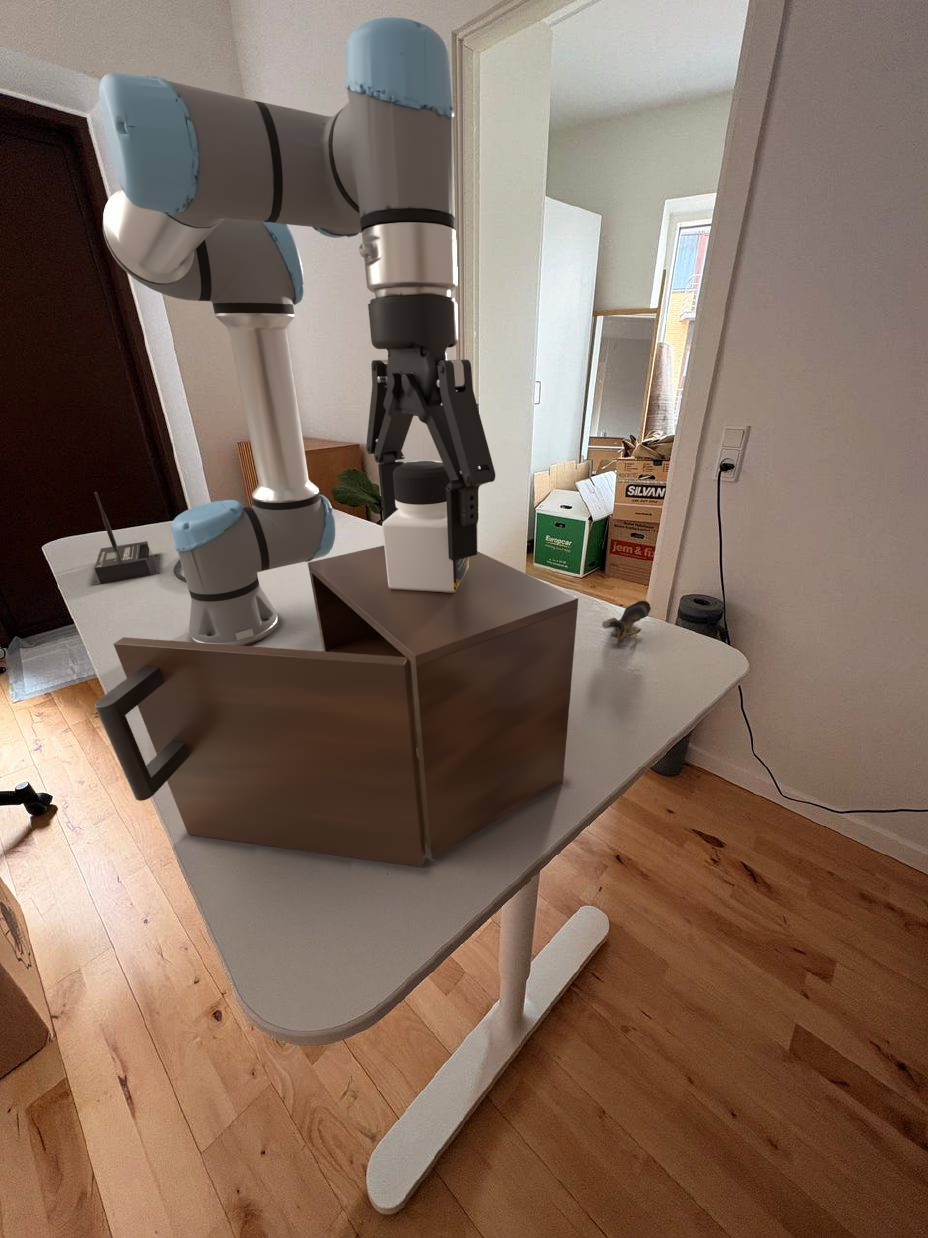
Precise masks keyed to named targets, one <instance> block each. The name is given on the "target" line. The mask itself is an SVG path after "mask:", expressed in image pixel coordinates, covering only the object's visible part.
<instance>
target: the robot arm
mask: <svg viewBox="0 0 928 1238" xmlns="http://www.w3.org/2000/svg"><path fill="white" fill-rule="evenodd" d="M450 64H451V62H450V54H449V51H448V48H447V46H446V42H445V41H444V40H443V38H442V37H441V36H440V34H439V33H438V32H436V31H435V30H434V29H433V28H431V27H430V26H428V25H427V24H425V23H421V22H419V21H416V20H413V19H409V18H405V17H398V16H397V17H395V16H394V17H393V16H389V17H380V18H374V19H371V20H368V21H366V22H363V23H362V24H361V23H360V25H358V26H357V27H356V28H355V29H354V30H352V32H351V33H350V35H349V36H348V38H347V41H346V45H345V79H344V87H345V89H346V93H347V97H348V102H347V103H346V104H345V105H344V106H343V107H342V108H341V109H340V110H339V111H338V112H337V113H335V114H334V115H331V116H330V115H323V114H319V113H314V112H309V111H305V110H301V109H296V108H292V107H287V106H282V105H278V104H273V103H267V102H264V101H258V100H252V99H250V98H249V99H248V98H244V97H240V96H235V95H232V94H227V93H222V92H218V91H213V90H210V89H205V88H200V87H196V86H191V85H187V84H184V83H179V82H174V81H170V80H167V79H166V78H164V77H161V76H157V75H153V74H150V75H146V76H145V75H137V74H128V73H121V72H108V73H106V74H105V75H103V76H102V78H101V80H100V82H99V87H98V96H99V101H100V102H99V103H100V106H101V109H100V112H101V118H102V123H103V128H104V133H105V138H106V142H107V146H108V150H109V155H110V158H111V162H112V166H113V168H114V169H113V170H114V172H115V175H116V177H117V181H118V184H119V186H120V188H121V189H119V190H117V191H116V192H115V193H113V194H112V195H111V196H110V198H108V200H107V202H106V204H105V207H104V210H103V215H102V233H103V237H104V240H105V244H106V245H107V248H108V250H109V252H110V254H111V255H112V257H113V259H114V260H115V261H116V262H117V264H118V265H119V266H120V267H121V269H122V270H123V271H125V272H126V273H127V274H128V275H129V276H130V277H131V278H132V279H134V280H135V281H136V282H138V283H140V284H142V285H144V286H145V287H147V288H148V289H151V290H152V291H154V292H157V293H160V294H162V295H165V296H168V297H171V298H174V299H178V300H179V299H180V300H184V301H193V302H194V301H195V302H211V304H212V309H213V313H214V317H215V318H216V319H217V320H218V321H219V322H221V323H222V324H223V325H224V326H225V328H227V330H228V334H229V339H230V344H231V349H232V353H233V359H234V365H235V370H236V374H237V379H238V380H237V381H238V384H239V385H238V386H239V389H240V395H241V400H242V405H243V410H244V415H245V421H246V426H247V430H248V436H249V441H250V446H251V451H252V456H253V461H254V468H255V472H256V478H257V481H258V484H257V487H255V489H254V490H253V492H252V493H251V498H252V501H253V502H252V504H253V505H251V506H245V507H244V506H243V504H241V502H240V501H238V500H236V499H224V500H216V501H210V502H206V503H202V504H199V505H197V506H193V507H191V508H189V509H187V510H184V511H183V512H181V513H179V514H178V515H177V516H175V518H174V519H173V521H172V523H171V525H170V526H171V533H172V538H173V541H174V545H173V546H174V549H175V551H176V552H177V555H178V557H179V560H178V561H177V562H176V564H175V565H174V567H173V570H172V571H173V575H174V577H176V578H177V579H179V580H181V581H183V582H185V583H186V586H187V589H188V593H189V596H190V600H191V602H190V615H189V626H188V627H189V628H188V629H189V636H190V638H191V642H197V643H211V644H225V645H239V646H249V645H251V644H254V643H257V642H259V641H261V640H263V639H265V638H267V637H268V636H269V635H271V634H272V633H273V632H274V631H275V630H276V629H277V628H278V625H279V618H278V615H277V612H276V610H275V609H276V608H274V606H273V604H272V602H271V601H270V600H269V598H268V596H267V595H266V594H265V592H264V590H263V589H262V587H261V584H260V581H259V576H258V573H261V572H265V571H270V570H274V569H278V568H282V567H286V566H291V565H296V564H301V563H308V562H312V561H314V560H315V559H319V558H322V557H325V556H327V555H328V554H330V552H331V550H332V549H333V547H334V544H335V540H336V521H335V520H336V519H335V514H334V513H333V506H332V504H331V502H330V501H329V499H328V498H327V497H326V496H325V495H323V494H320V489H319V486H317V485H315V484H314V483H313V482H312V481H311V480H310V479H309V473H308V465H307V458H306V451H305V445H304V439H303V437H304V436H303V433H302V432H303V431H302V424H301V418H300V410H299V405H298V397H297V391H296V384H295V378H294V371H293V363H292V357H291V350H290V344H289V336H288V327H289V325H291V323H292V321H293V320H294V319H295V309H294V306H297V304H299V303H301V302H302V300H303V298H304V294H305V289H304V284H305V278H304V270H303V265H302V260H301V255H300V252H299V248H298V246H297V242H296V240H295V237H294V235H293V233H292V231H291V229H290V228H289V225H290V226H300V227H308V228H309V227H310V228H312V229H314V230H315V231H316V232H317V233H319V234H321V235H323V236H325V237H328V238H333V239H339V238H345V237H347V238H352V237H356V236H358V235H359V234H361V237H362V243H361V244H360V245H359V248H358V250H359V254H360V256H361V257H362V258H363V259H364V269H365V280H366V288H367V289H368V290H369V292H371V293H374V296H375V297H374V298H371V299H370V300H369V303H367V310H368V320H369V330H370V331H369V332H370V340H371V341H370V343H371V345H372V346H373V348H375V349H377V350H387V351H386V352H387V359H373V360H372V361H371V364H370V365H371V394H370V403H369V404H370V405H369V414H368V415H369V416H368V422H367V423H368V425H367V435H366V442H365V443H366V446H365V449H366V452H367V454H368V455H373V459H374V461H375V463H377V467H378V477H379V488H380V497H381V499H380V500H381V507H382V519H383V522H384V521H385V520H386V519H387V518H388V517H390V516H391V515H392V514H393V513H394V512H395V511H397V510H398V508H396V504H395V493H394V481H393V471H394V470H395V468H396V467H398V466H400V465H402V464H404V463H405V462H403V461H402V460H405V459H406V458H405V455H404V453H403V447H404V446H405V445H404V444H405V442H406V439H407V436H408V433H409V431H410V427H411V424H412V421H413V418H414V417H417V418H418V420H419V421H420V422H422V423H423V424H425V425H426V427H427V429H428V432H429V434H430V436H431V438H432V441H433V444H434V446H435V448H436V450H437V453H438V455H439V457H440V461H442V462H443V465H444V467H445V469H446V472H447V474H448V476H449V479H450V482H449V484H448V485H447V487H446V500H447V527H448V553H449V559H450V560H452V561H455V560H459V559H463V558H467V557H470V556H474V555H477V551H478V522H479V489H480V487H481V486H483V485H485V484H488V483H493V482H494V481H495V480H496V470H495V467H494V463H493V459H492V455H491V452H490V449H489V448H490V447H489V444H488V441H487V437H486V433H485V429H484V426H483V422H482V418H481V414H480V410H479V407H478V404H477V399H476V396H475V392H474V386H473V384H474V383H473V371H472V364H471V362H470V360H469V359H466V358H465V359H448V356H447V349H448V348H449V349H450V348H455V347H456V345H457V344H458V341H459V322H458V302H457V301H456V299H455V298H454V297H452V296H451V292H453V291H454V290H455V289H456V288H457V287H458V266H457V265H458V264H457V262H458V261H457V236H456V233H457V232H456V230H455V229H456V226H455V220H456V206H455V205H456V203H455V202H456V201H455V200H456V199H455V196H456V195H455V193H456V192H455V123H454V122H455V119H454V118H455V117H456V112H455V108H454V106H453V97H452V81H451V65H450ZM180 567H181V568H182V571H183V575H184V576H183V575H181V574H180V573H179V568H180Z"/></svg>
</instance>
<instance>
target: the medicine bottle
mask: <svg viewBox="0 0 928 1238" xmlns="http://www.w3.org/2000/svg"><path fill="white" fill-rule="evenodd" d="M393 481H394V493H395V504H396V508H398V510H397V511H395V512H394V513H393V514H392V515H391V516H390V517H388V518H387V519H386V520H385V521H384V520H383V522H382V524H381V527H382V537H383V545H384V547H385V557H386V567H387V577H388V586H389V588H390V589H399V590H415V591H432V592H448V593H454V592H456V590H457V588H458V586H459V585H460V583H461V581H462V579H463V577H464V575H465V573H466V571H467V569H468V567H469V557H467V558H463V559H459V560H455V561H452V560H450V559H449V553H448V527H447V500H446V487H447V485H448V484H449V482H450V479H449V476H448V474H447V472H446V469H445V467H444V465H443V462H442V460H434V459H433V460H432V459H424V460H412V461H407V462H404V464H402V465H400V466H398V467H396V468H395V470H394V471H393Z"/></svg>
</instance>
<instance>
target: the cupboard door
mask: <svg viewBox="0 0 928 1238" xmlns="http://www.w3.org/2000/svg"><path fill="white" fill-rule="evenodd" d="M113 647H114V649H115V652H116V654H117V657H118V659H119V662H120V664H121V667H122V670H123V672H124V674H125V679H124V680H123V681H122V682H120V683H119V684H117V685H116V686H115V687H114V688H112V689H111V690H109V691H107V693H106V694H104V695H103V696H101V697H100V698H98V700H97V701H95V702H94V708H95V710H96V712H97V715H98V717H99V719H100V722H101V724H102V726H103V728H104V731H105V733H106V735H107V737H108V740H109V742H110V744H111V747H112V749H113V751H114V753H115V755H116V758H117V760H118V763H119V765H120V767H121V769H122V771H123V774H124V776H125V778H126V780H127V783H128V785H129V788H130V790H131V792H132V794H133V797H134V799H135V800H136V801H139V802H143V801H146V800H148V799H149V800H150V799H151V798H152V797H153V796H154V795H156V793H157V792H158V791H159V790H160V789H161V788H162V787H163V786H164V784H165V783H166V782H167V784H168V787H169V790H170V793H171V796H172V797H173V800H174V802H175V806H176V808H177V810H178V813H179V815H180V818H181V820H182V822H183V826H184V828H185V831H186V833H187V835H188V836H194V837H195V836H196V837H202V838H209V839H210V838H211V839H218V840H222V841H223V840H224V841H231V842H239V843H245V844H253V845H259V846H267V847H274V848H283V849H289V850H295V851H303V852H308V853H309V852H310V853H317V854H325V855H331V856H338V857H339V856H340V857H346V858H354V859H361V860H367V861H373V862H374V861H375V862H382V863H387V864H388V863H389V864H395V865H404V866H411V867H416V868H417V867H418V868H424V865H425V861H426V859H427V857H426V850H425V843H424V832H423V821H422V810H421V799H420V788H419V776H418V765H417V754H416V743H415V732H414V720H413V709H412V698H411V687H410V676H409V665H408V658H407V657H395V656H381V655H367V654H353V653H338V652H324V651H323V650H308V649H294V648H280V647H265V646H251V645H245V646H239V645H225V644H211V643H197V642H193V641H181V640H180V641H179V640H169V639H168V640H167V639H153V638H152V639H151V638H140V637H139V638H138V637H137V638H136V637H121V638H120V639H118V640H117V641H116V642H113ZM136 707H137V708H138V710H139V713H140V715H141V718H142V721H143V723H144V726H145V729H146V731H147V734H148V736H149V739H150V742H151V744H152V746H153V749H154V752H155V754H156V755H155V756H154V757H153V759H151V760H150V761H149V762H148V763H147V764H146V762H145V760H144V757H143V755H142V752H141V750H140V747H139V744H138V743H137V740H136V737H135V735H134V733H133V731H132V727H131V725H130V723H129V720H128V718H127V716H126V715H128V714H129V713H130V712H131V711H132V710H134V709H135V708H136Z"/></svg>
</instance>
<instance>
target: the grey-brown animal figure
mask: <svg viewBox="0 0 928 1238" xmlns="http://www.w3.org/2000/svg"><path fill="white" fill-rule="evenodd" d="M651 609H652V607H651V604H650V602H648V600H638V601H636V602H635V603H633V604H631V605H629V606H627V607H626V608H625V609H624V611H623V614H622V615H621V618H620V619H617V618H616V617H610V618H608V619H605V620H603V621H602V623H601V627H602V628H603V629H610V628H613V629H614V630H615V632H616V633H615V634H614V633H613V634H611V635H610V636H611V637H613V638H616V643H615V647H616V648H618V647H619V646H620V645H621V644H623V643H624V641H625V640H626V639H627V638H628V637H631V638H632V639H634V640H635V641H636V642H638V634H639V633H640V632H641V631H642V628H638V629H637V627H636V626H634V624H635V623H637V622H640V621H641V620H642V619H645V618H647V617H649V613H650V612H651ZM633 628H634V629H635V630H634V629H633Z"/></svg>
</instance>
